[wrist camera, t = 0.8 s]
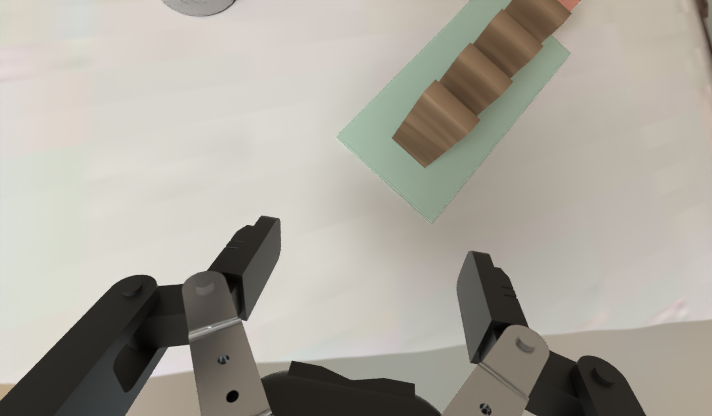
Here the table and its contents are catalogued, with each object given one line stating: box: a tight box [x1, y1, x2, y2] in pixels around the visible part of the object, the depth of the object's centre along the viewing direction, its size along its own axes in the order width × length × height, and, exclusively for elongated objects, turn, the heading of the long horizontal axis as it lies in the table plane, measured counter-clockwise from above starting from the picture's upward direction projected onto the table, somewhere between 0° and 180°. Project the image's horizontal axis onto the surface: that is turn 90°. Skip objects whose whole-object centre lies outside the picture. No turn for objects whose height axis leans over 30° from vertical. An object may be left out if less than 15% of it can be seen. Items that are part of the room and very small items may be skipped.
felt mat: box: [337, 0, 570, 223], centre depth 39 cm, size 30×14×1 cm, turn 139°
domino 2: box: [473, 9, 543, 78], centre depth 34 cm, size 2×5×10 cm, turn 49°
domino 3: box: [439, 43, 513, 116], centre depth 32 cm, size 2×5×10 cm, turn 49°
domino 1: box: [392, 79, 480, 168], centre depth 31 cm, size 2×5×10 cm, turn 49°
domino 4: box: [505, 0, 571, 43], centre depth 35 cm, size 2×5×10 cm, turn 49°
